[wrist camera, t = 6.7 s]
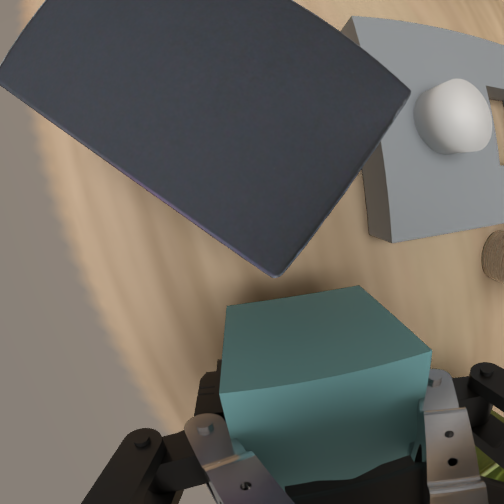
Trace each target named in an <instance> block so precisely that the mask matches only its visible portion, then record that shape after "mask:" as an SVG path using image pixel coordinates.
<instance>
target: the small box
mask: <svg viewBox="0 0 504 504" xmlns="http://www.w3.org/2000/svg"><path fill="white" fill-rule="evenodd" d="M0 86H2V87H3V88H5V89H6V90H7V91H9V92H10V93H12V94H13V95H14V96H16V97H17V98H19V99H20V100H21V101H23V102H24V103H25V104H27V105H28V106H29V107H31V108H32V109H34V110H35V111H36V112H38V113H39V114H41V115H42V116H43V117H45V118H46V119H48V120H49V121H50V122H52V123H53V124H55V125H56V126H57V127H59V128H60V129H62V130H63V131H64V132H66V133H67V134H69V135H70V136H71V137H73V138H74V139H76V140H77V141H78V142H80V143H81V144H83V145H84V146H86V147H87V148H88V149H90V150H91V151H93V152H94V153H95V154H97V155H98V156H100V157H101V158H102V159H104V160H105V161H107V162H108V163H109V164H111V165H112V166H114V167H115V168H116V169H118V170H119V171H121V172H122V173H123V174H125V175H126V176H128V177H129V178H130V179H132V180H133V181H135V182H136V183H137V184H139V185H140V186H142V187H143V188H145V189H146V190H147V191H149V192H150V193H152V194H153V195H154V196H156V197H157V198H159V199H160V200H161V201H163V202H164V203H166V204H167V205H169V206H170V207H171V208H173V209H174V210H176V211H177V212H178V213H180V214H181V215H183V216H184V217H186V218H187V219H188V220H190V221H191V222H193V223H194V224H195V225H197V226H198V227H200V228H201V229H202V230H204V231H205V232H207V233H208V234H210V235H211V236H212V237H214V238H215V239H217V240H218V241H219V242H221V243H222V244H224V245H225V246H227V247H228V248H230V249H231V250H232V251H234V252H235V253H237V254H238V255H239V256H241V257H242V258H244V259H245V260H247V261H248V262H250V263H251V264H253V265H254V266H256V267H257V268H258V269H260V270H261V271H263V272H264V273H265V274H267V275H269V276H270V277H272V278H277V277H280V276H281V275H282V274H283V273H284V272H285V271H286V270H287V268H288V267H289V266H290V265H291V264H292V262H293V261H294V260H295V259H296V257H297V256H298V255H299V254H300V252H301V251H302V250H303V249H304V248H305V246H306V245H307V244H308V242H309V241H310V240H311V238H312V237H313V236H314V234H315V233H316V232H317V230H318V229H319V227H320V226H321V225H322V223H323V222H324V220H325V219H326V218H327V216H328V215H329V214H330V213H331V211H332V210H333V208H334V207H335V206H336V204H337V203H338V202H339V200H340V199H341V198H342V196H343V195H344V194H345V192H346V191H347V189H348V188H349V186H350V185H351V183H352V182H353V180H354V179H355V178H356V176H357V175H358V173H359V171H360V170H361V169H362V168H363V166H364V165H365V163H366V162H367V160H368V159H369V157H370V156H371V155H372V153H373V152H374V151H375V149H376V148H377V146H378V144H379V143H380V141H381V140H382V138H383V137H384V135H385V134H386V132H387V131H388V129H389V128H390V126H391V125H392V123H393V122H394V120H395V119H396V117H397V116H398V114H399V113H400V111H401V110H402V108H403V107H404V106H405V104H406V102H407V100H408V99H409V97H410V95H411V90H410V89H409V88H408V87H407V86H406V85H405V84H404V83H403V82H402V81H400V80H399V79H398V78H397V77H396V76H395V75H394V74H393V73H392V72H390V71H389V70H388V69H387V68H386V67H385V66H384V65H382V64H381V63H380V62H379V61H378V60H376V59H375V58H374V57H373V56H372V55H370V54H369V53H368V52H367V51H365V50H364V49H363V48H361V47H360V46H359V45H358V44H356V43H355V42H354V41H352V40H351V39H350V38H348V37H347V36H346V35H344V34H343V33H341V32H340V31H339V30H337V29H336V28H334V27H333V26H331V25H330V24H328V23H327V22H325V21H324V20H323V19H321V18H320V17H318V16H317V15H315V14H314V13H312V12H310V11H309V10H307V9H305V8H304V7H302V6H301V5H299V4H298V3H296V2H294V1H293V0H45V2H44V3H43V4H42V5H41V6H40V8H39V9H38V11H37V12H36V13H35V14H34V16H33V17H32V19H31V20H30V21H29V22H28V24H27V25H26V26H25V28H24V29H23V31H22V32H21V33H20V35H19V36H18V38H17V39H16V41H15V42H14V44H13V45H12V47H11V49H10V50H9V52H8V53H7V55H6V56H5V58H4V60H3V61H2V63H1V65H0Z"/></svg>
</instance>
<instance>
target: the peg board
mask: <svg viewBox="0 0 504 504" xmlns="http://www.w3.org/2000/svg"><path fill="white" fill-rule="evenodd" d="M341 33H343V34H344V35H346V36H347V37H348V38H350V39H351V40H352V41H354V42H355V43H356V44H358V45H359V46H360V47H361V48H363V49H364V50H365V51H367V52H368V53H369V54H370V55H372V56H373V57H374V58H375V59H376V60H378V61H379V62H380V63H381V64H382V65H384V66H385V67H386V68H387V69H388V70H389V71H390V72H392V73H393V74H394V75H395V76H396V77H397V78H398V79H399V80H400V81H402V82H403V83H404V84H405V85H406V86H407V87H408V88H409V89H410V90H411V95H410V97H409V99H408V100H407V102H406V104H405V106H404V107H403V108H402V110H401V111H400V113H399V114H398V116H397V117H396V119H395V120H394V122H393V123H392V125H391V126H390V128H389V129H388V131H387V132H386V134H385V135H384V137H383V138H382V140H381V141H380V143H379V144H378V146H377V148H376V149H375V151H374V152H373V153H372V155H371V156H370V157H369V159H368V160H367V162H366V163H365V165H364V166H363V168H362V173H363V180H364V188H365V197H366V206H367V215H368V226H369V235H372V236H374V237H377V238H380V239H382V240H385V241H388V242H390V243H397V242H402V241H408V240H414V239H420V238H425V237H431V236H437V235H442V234H448V233H453V232H459V231H464V230H470V229H475V228H481V227H486V226H492V225H497V224H502V223H504V166H500V161H499V153H498V146H497V139H496V133H495V127H494V121H493V116H492V111H491V106H490V102H489V99H493V100H499V101H503V105H504V45H501V44H498V43H495V42H492V41H488V40H485V39H482V38H478V37H475V36H471V35H468V34H464V33H460V32H456V31H452V30H447V29H443V28H438V27H433V26H428V25H423V24H417V23H411V22H404V21H397V20H390V19H381V18H371V17H360V16H351V17H350V19H349V20H348V22H347V23H346V24H345V26H344V27H343V29H342V30H341Z"/></svg>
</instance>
